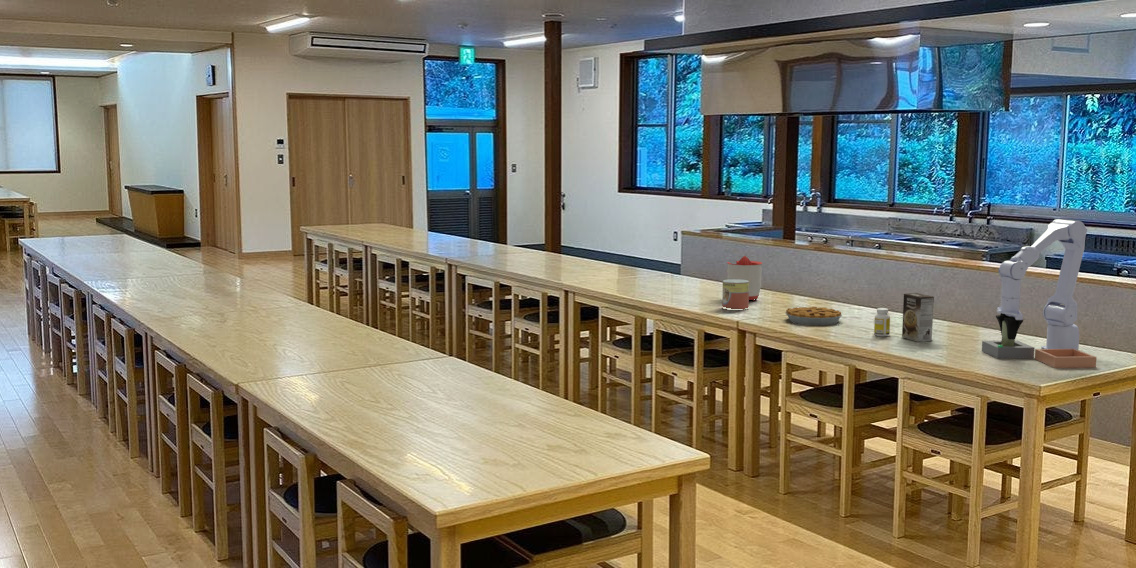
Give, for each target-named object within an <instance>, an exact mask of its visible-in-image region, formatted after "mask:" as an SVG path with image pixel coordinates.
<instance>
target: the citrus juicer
mask: <svg viewBox="0 0 1136 568" xmlns="http://www.w3.org/2000/svg"><path fill="white" fill-rule="evenodd" d="M726 263H727V269H726V270H725V271H726V273H727V279H742V280H748V281H749V300H753V301H755V300H754V299H757V300H758V299H759V296H760V292H761V288H762V273H763V272H762V271H763V270H762V268H763V267H762V265H763V262H762V261H757V260H750V258H749V257H747V256H746V255H743V256H742V257H741V258H740V259H739V260H736V263H731V262H729V261H727V262H726Z"/></svg>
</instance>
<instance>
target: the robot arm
mask: <svg viewBox="0 0 1136 568" xmlns="http://www.w3.org/2000/svg"><path fill="white" fill-rule="evenodd" d="M1087 232H1088V228H1087V226H1085V224H1084V222H1083V221H1081V220H1071V219H1070V220H1069V219H1061V218H1057V219H1054V220H1053V221H1052V222H1050V223H1049V224H1048V225H1047V229H1046V231H1044V232H1043V233H1042V234H1041V235H1040V236H1039V237H1038V238H1037V239H1036V241H1034V242H1033V244H1032V245H1031V246H1030V245H1026V246H1022V247H1021V248H1020V251H1019V250H1018V252H1017V253H1016V254H1014V256H1011V258H1010V259H1009V260H1004V261H1003V262H1001V264H1000V266H999V268H997V269H998V270H997V272H998V275H999V277H1000V282H1001V290H1000V306H998V307H997V308H996V313H997V314H998V315H997V314H996V315H995V318H996V321H997V322H998V324H999V329H1000V334H1001V336H1002V322H1003V321H1004V320H1005V323H1006V326H1007V336H1008V339H1015V340H1016V338H1017V335H1018V332H1019V329H1020V327H1021V325H1022V324H1023V322H1024V314H1023V313H1022V311H1021V310H1020V304H1021V286H1022V285H1021V284H1022V278H1025V276H1026V273H1027V270H1028V269H1029V268H1030V267H1031V266H1032V265H1033V264H1034V263H1035V262H1036V261H1038V260H1039V258H1040V254H1041V252H1043V251H1044V250H1045V249H1048V247H1050V246H1051V245H1052V244H1054V243H1055V242H1056V241H1058V242H1059V243H1060V244H1061V245H1062V246H1063V247H1064V249H1065V250H1064V254H1063V259H1062V263H1061V267H1060V270H1059V274H1058V280H1057V284H1056V288H1055V290H1054V291H1055V293H1054V294H1053V295H1052V296H1050V297H1048V298H1047V302H1046V304H1045V306H1044V307H1043V309H1042V317H1043V319H1044V320H1046V321H1045V323H1047V329H1046V345H1042V346H1040V349H1077V350H1080V349H1079V347H1080V345H1079V344H1080V329H1079V326H1078V325H1076V324H1075V323H1076V321H1077V319H1078V306H1079V304H1078V303H1077V302H1076V300H1075V299H1074V298H1073V297H1074V293H1075V289H1076V285H1077V281H1078V276H1079V272H1080V269H1081V268H1080V267H1081V264H1082V260H1083V255H1084V250H1085V248H1086V247H1085V246H1086V245H1085V243H1086V242H1085V240H1086V237H1087V236H1086V235H1087Z"/></svg>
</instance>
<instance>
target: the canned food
mask: <svg viewBox="0 0 1136 568" xmlns="http://www.w3.org/2000/svg"><path fill="white" fill-rule="evenodd" d="M721 294H722V297H721V298H722V300H721V303H722V304H721V305H722V306H723V307H726V308H731V309H745V308H748V307H749V305H750V303H749V302H750V301H749V281H748V280H742V279H728V278H727V279H723V280H722V293H721Z"/></svg>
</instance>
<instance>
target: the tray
mask: <svg viewBox="0 0 1136 568" xmlns="http://www.w3.org/2000/svg"><path fill="white" fill-rule="evenodd" d="M1097 358H1098V357H1097V356H1095V355H1093V354H1090V353H1087V352H1084V351H1082V350H1080V349H1078V350H1077V349H1043V348H1035V349H1034V360H1035V361H1038V362H1040V361H1041V362H1040V363H1042V362H1043V364H1045V365H1047V366H1050V367H1051V368H1054V369H1070V368H1071V369H1072V368H1074V369H1076V368H1082V369H1083V368H1087V369H1088V368H1097Z"/></svg>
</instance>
